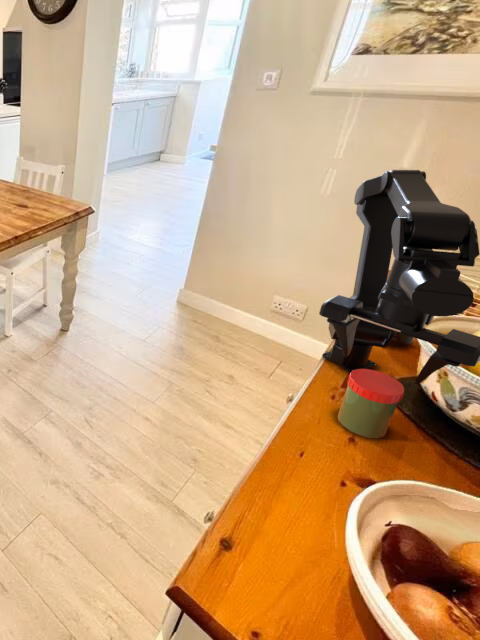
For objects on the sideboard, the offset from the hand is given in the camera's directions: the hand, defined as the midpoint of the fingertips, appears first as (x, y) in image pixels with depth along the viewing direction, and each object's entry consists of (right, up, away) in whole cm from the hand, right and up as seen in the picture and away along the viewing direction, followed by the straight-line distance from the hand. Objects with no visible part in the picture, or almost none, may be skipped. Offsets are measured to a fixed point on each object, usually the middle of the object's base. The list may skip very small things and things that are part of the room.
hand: (380, 368), depth 69 cm
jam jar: (0, -11, +4) cm, 12 cm away
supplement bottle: (+26, 0, +23) cm, 35 cm away
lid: (-1, -3, 0) cm, 3 cm away
